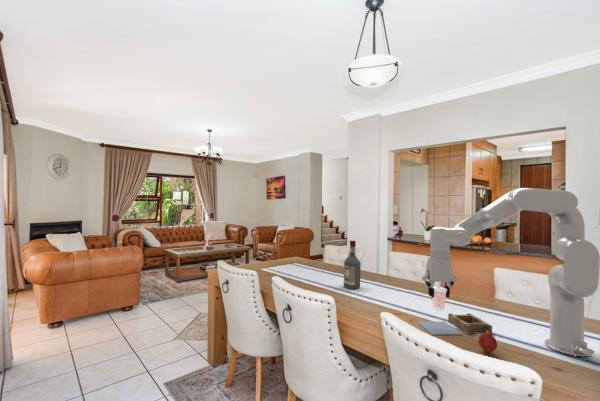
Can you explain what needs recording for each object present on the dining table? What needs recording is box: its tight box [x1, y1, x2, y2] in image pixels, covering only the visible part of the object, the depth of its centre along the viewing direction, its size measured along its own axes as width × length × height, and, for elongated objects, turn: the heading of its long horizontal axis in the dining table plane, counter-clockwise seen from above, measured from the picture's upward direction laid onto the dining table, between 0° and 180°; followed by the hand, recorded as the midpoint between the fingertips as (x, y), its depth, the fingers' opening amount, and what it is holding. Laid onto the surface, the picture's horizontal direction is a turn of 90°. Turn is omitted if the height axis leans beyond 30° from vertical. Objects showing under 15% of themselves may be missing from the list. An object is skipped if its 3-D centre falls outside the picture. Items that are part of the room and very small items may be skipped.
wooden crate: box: [447, 313, 493, 335], centre depth 128 cm, size 14×11×4 cm
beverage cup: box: [431, 282, 447, 312], centre depth 126 cm, size 6×6×14 cm
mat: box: [416, 321, 463, 336], centre depth 126 cm, size 13×13×1 cm
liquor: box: [343, 240, 361, 290], centre depth 188 cm, size 9×9×30 cm
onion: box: [477, 331, 498, 354], centre depth 106 cm, size 6×6×8 cm
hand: (438, 296), depth 126 cm, fingers closed on beverage cup, 6 cm apart
